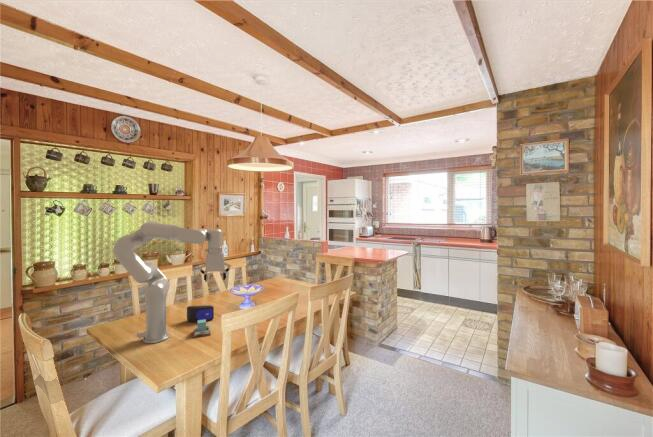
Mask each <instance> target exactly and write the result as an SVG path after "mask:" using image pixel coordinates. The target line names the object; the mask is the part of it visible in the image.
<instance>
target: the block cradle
mask: <svg viewBox="0 0 653 437" xmlns="http://www.w3.org/2000/svg"><path fill="white" fill-rule="evenodd" d="M192 336H193V338H199V337H206V336H211V327H210V324H208V325H207V324H206V331H201V332H198V326H195V327H194V329H193V335H192Z"/></svg>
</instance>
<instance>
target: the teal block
mask: <svg viewBox="0 0 653 437" xmlns="http://www.w3.org/2000/svg"><path fill="white" fill-rule="evenodd" d="M206 326H207V321H206V319H204V320H198V322H197V327H198V332H201V331H206Z"/></svg>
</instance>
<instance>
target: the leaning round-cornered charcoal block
mask: <svg viewBox="0 0 653 437" xmlns="http://www.w3.org/2000/svg"><path fill="white" fill-rule="evenodd" d="M214 310H215V307H214V305H209V304H208V305H189V306H187V307H186V321H188V322H192V323H198V320H204V319H206V322H210V321H212V320H214V316H215V315H214V314H215V312H214Z"/></svg>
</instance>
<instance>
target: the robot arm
mask: <svg viewBox="0 0 653 437" xmlns="http://www.w3.org/2000/svg"><path fill="white" fill-rule="evenodd" d="M153 239H155V240H156V239H157V240H165V241H174V242H181V243H185V244H187V243H188V244H197V245H198V244H203V243H204V242H207V248H206V249H204V251H205V252H206V256H205V263H204V264H202V265H199V266H198V269H199V272H200V273H201V274H203V280H204V281H205V283H207V282H208V279H207V278H208V276H207V275H208V272H221V271H222V272H223V273H222V280H223V281H226V278H227V273H228V271H230V269H231V267H232V265H231V264H229V263H227V262H225V255H224V254H225V253H224V252H223V231H222V230H221V229H220V228H213V229H211V228H210V229H207V228H199V229H194V228H184V227H180V226H178V225H176V224H169V223H168V224H167V223H159V222H157V221H148V222H144V223H142V224H141V225H140V228H139V229H137V230H136V231H134V232H132V233H129V234H125V235H123V236H121V237H119V238H118V239H117V240H116V242H115V243H114V246H113V255H114V257H115V258H116V260H117V261H118V262H119V263H120V264H121V266H123V269H125V270H126V272H127V273H128V274H129V275H130V276H131V277H132V279H133V280H134V281H135V282H136V283H138V284H147V286H146V287H145V289H144V291H143V292H144V301H145V329H146V330H145V331H143V332H138V333H137V332H136V337H137V338H138V339H140V338H141V339H142V342H143V343H145V344H156V343H161V342H164V341H165V340H167V339H169V338H170V336H171V335H170V333H169V332H168V331H167V302H166V300H167V299H166V293H167V292H168V291H169V289H170V286H171V285H170V284H171V283H170V282H169V279H168V278H167V277H166V276H165V274H164V273H163V272H162V271H161V270H160V269H159V267H158V266H157V265H155V264H154V263H151V262H145V261H144V260H142V258H141V257H140V256H139V255H138V254H137V253H136V252H135V251H134V250H137V249H139V248H140V247H142V246H144V245H146V244H147V243H149V242H150V241H152V240H153ZM225 267H227V268H226V269H225ZM203 268H205V270H203Z"/></svg>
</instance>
